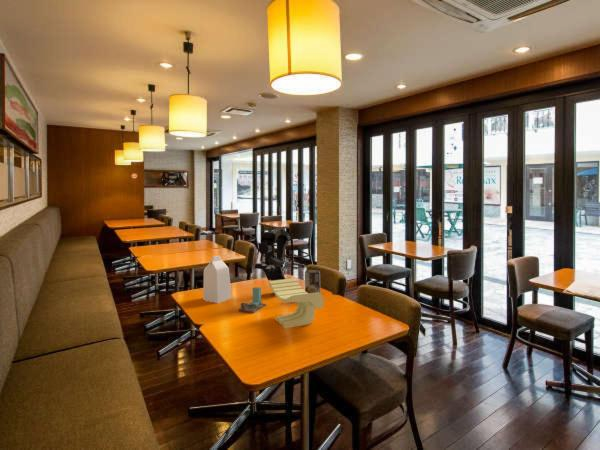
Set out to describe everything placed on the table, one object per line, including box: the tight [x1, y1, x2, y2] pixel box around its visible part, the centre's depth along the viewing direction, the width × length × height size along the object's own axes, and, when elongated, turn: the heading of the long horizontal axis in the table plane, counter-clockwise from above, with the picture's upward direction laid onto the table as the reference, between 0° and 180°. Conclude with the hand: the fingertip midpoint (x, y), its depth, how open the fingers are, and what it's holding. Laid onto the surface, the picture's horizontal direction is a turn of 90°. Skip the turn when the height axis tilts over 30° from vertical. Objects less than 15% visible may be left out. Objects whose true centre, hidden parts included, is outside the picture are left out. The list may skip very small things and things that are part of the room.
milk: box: [202, 255, 232, 304], centre depth 220 cm, size 12×12×26 cm
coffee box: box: [304, 269, 321, 293], centre depth 222 cm, size 9×6×16 cm
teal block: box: [249, 286, 262, 308], centre depth 204 cm, size 9×4×9 cm, turn 157°
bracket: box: [238, 302, 267, 314], centre depth 203 cm, size 14×9×4 cm, turn 157°
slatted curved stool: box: [268, 278, 324, 329], centre depth 182 cm, size 30×16×18 cm, turn 24°
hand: (268, 280), depth 214 cm, fingers closed
